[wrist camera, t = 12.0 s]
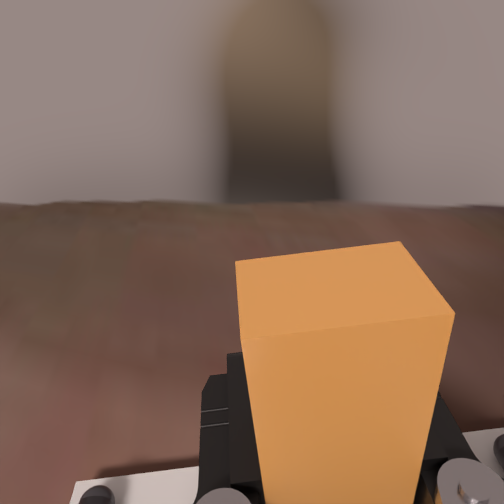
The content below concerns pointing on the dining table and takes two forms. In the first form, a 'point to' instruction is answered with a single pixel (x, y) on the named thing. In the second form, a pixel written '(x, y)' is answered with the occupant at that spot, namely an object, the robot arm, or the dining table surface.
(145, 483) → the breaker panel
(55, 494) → the dining table surface
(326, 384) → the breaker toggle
